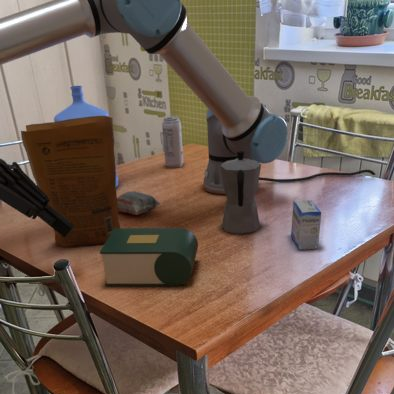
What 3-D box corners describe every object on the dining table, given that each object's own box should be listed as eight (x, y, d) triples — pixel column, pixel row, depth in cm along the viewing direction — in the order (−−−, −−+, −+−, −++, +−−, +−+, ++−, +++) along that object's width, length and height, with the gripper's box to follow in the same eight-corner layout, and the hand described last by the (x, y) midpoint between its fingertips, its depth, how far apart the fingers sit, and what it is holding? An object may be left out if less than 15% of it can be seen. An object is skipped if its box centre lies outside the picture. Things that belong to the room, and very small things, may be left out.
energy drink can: (186, 166, 172) (183, 117, 163) (170, 169, 170) (166, 120, 161) (178, 162, 176) (174, 114, 168) (162, 165, 174) (158, 117, 165)
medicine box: (290, 236, 121) (292, 200, 116) (309, 235, 121) (312, 198, 116) (298, 250, 114) (301, 212, 109) (318, 248, 114) (322, 211, 109)
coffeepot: (222, 217, 133) (220, 144, 122) (259, 216, 132) (260, 142, 121) (220, 242, 120) (218, 162, 110) (261, 241, 119) (262, 161, 109)
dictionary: (198, 260, 113) (197, 227, 109) (192, 286, 103) (190, 251, 99) (118, 260, 115) (113, 227, 111) (105, 286, 105) (99, 251, 101)
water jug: (84, 178, 167) (67, 81, 150) (127, 181, 161) (114, 81, 145) (57, 194, 155) (35, 91, 139) (103, 198, 150) (85, 92, 134)
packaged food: (138, 221, 133) (136, 202, 130) (107, 212, 140) (105, 194, 137) (161, 211, 139) (159, 193, 136) (131, 203, 145) (129, 186, 142)
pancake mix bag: (129, 244, 122) (111, 117, 106) (47, 252, 121) (17, 124, 105) (129, 233, 127) (112, 110, 111) (51, 240, 126) (22, 117, 110)
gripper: (-26, 154, 105) (68, 231, 113) (-59, 173, 95) (48, 257, 102) (-9, 126, 101) (88, 207, 109) (-41, 142, 91) (69, 231, 99)
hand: (69, 231), depth 106 cm, fingers closed
